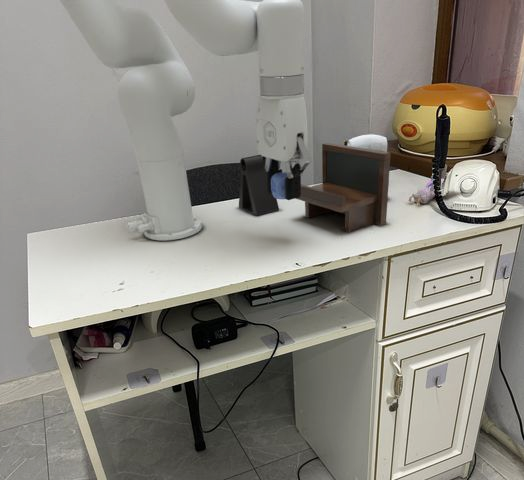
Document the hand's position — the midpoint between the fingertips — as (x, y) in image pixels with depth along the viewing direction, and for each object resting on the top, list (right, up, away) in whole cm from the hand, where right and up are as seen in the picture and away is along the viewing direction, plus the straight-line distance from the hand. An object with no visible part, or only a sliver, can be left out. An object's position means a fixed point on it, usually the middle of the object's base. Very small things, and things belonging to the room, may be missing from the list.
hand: (284, 194), depth 93 cm
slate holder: (+11, -2, +12) cm, 16 cm away
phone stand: (-5, +4, +24) cm, 24 cm away
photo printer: (+22, +12, +33) cm, 42 cm away
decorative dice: (0, -1, 0) cm, 1 cm away
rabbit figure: (+36, +5, +20) cm, 42 cm away
